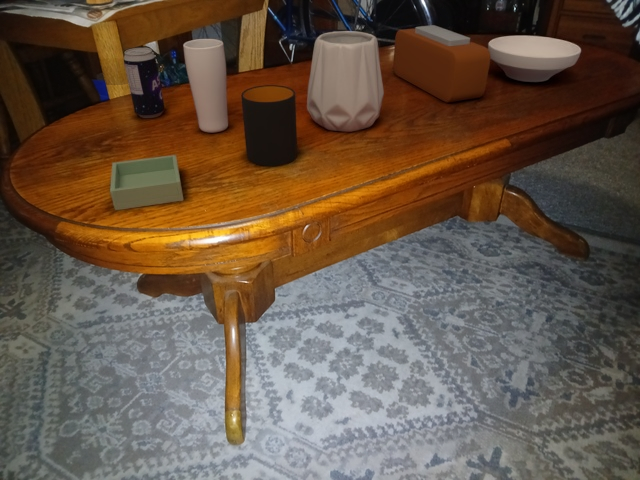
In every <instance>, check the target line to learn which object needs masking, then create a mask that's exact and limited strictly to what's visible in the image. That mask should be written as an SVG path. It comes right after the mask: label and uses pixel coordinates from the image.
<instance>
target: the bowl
mask: <svg viewBox="0 0 640 480" xmlns="http://www.w3.org/2000/svg"><path fill="white" fill-rule="evenodd" d="M487 49H488V50H489V52H490V60H492V61H493V62H494V63H495V64H496V65H497V66H498V67H499V68H500V69H501V70H502V71H503V72H504V74H505V76H506V77H507V78H510V79H512V80H514V81H515V80H516V81H520V82H529V83H540V82H545V81H548V80H550V78H551V77H553V76H554V75H556V74H559V73H560V72H563V71H565V70H566V69H567V68H570V67H572V66H574V65H576V64H577V62H578V60H579V58H580V56H581V53H582V48H581V47H580V46H579V45H577V44H576V43H574V42H570V41H568V40H563V39H559V38H554V37H547V36H540V35H506V36H500V37H495V38H493V39H491V40H490V41H489V42H488V43H487Z"/></svg>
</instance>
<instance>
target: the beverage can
mask: <svg viewBox="0 0 640 480" xmlns="http://www.w3.org/2000/svg"><path fill="white" fill-rule="evenodd" d="M123 63H124V69H125V73H126V78H127V82H128V87H129V92H130V97H131V101H132V106H133V110H134V113H135V114H136V115H138V116H139V117H140V118H143V119H155V118H157V117H160V116H161V115H162V114H163V112H164V111H165V109H166V108H165V101H164V96H163V91H162V86H161V80H160V79H161V78H160V73H159V68H158V63H157V57H156V55H155V54H154V52H153V49H152V48H150V47H134V48H130V49H126V50H125V51H124V56H123Z"/></svg>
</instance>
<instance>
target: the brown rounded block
mask: <svg viewBox="0 0 640 480" xmlns="http://www.w3.org/2000/svg"><path fill="white" fill-rule="evenodd" d="M393 49H394V50H393V63H392V64H393V65H392V67H393V68H392V69H393V72H394V74H395V75H396V76H397V77H399V78H401V79H402V80H404V81H406V82H408V83H410V84H411V85H413V86H415V87H416V88H419V89H420V90H423V91H424V92H425V93H428V94H430V95H431V96H433V97H435V98H437V99H438V100H441V101H442V102H444V103H447V104H449V103H454V102H455V103H456V102H460V101H467V100H473V99H479V98H482V96H483V95H484V94H485V92H486V87H487V81H488V75H489V71H490V65H491V59H490V52H489V50H488V47H486V46H483V45H481V44H477V43H475V42H472V41H471V37H468V36H465V35H463V34H460V33H457V32H454V31H452V30H448V29H446V28H443V27H440V26H437V25H434V24H431V25H421V26H416V27H414V28H407V29H405V28H404V29H399V30H397V32H396V33H395V38H394V48H393Z"/></svg>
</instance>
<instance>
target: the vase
mask: <svg viewBox="0 0 640 480" xmlns="http://www.w3.org/2000/svg"><path fill="white" fill-rule="evenodd" d="M379 51H380V50H379V43H378V39H377V37H376V36H375V35H374V34H371V33H368V32H362V31H355V30H342V31H337V30H336V31H335V30H334V31H329V32H325V33H322V34H320V35H319V36H317V38H316V39H315V41H314V45H313V51H312V59H311V64H310V73H309V77H308V83H307V91H306V92H307V94H306V96H307V97H306V109H307V112H308V114H309V115H310V118H311V119H312V120H313V122H315V124H317V125H319V126H321V127H322V128H324V129H325V130H327V131H333V132H344V133H345V132H346V133H352V132H357V131H360V130H364V129H368V128H370V127H372V125H374V123H375V122H376V120H377V119H379V117H380V113H381V107H382V104H383V100H384V95H385V90H384V85H383V83H384V82H383V76H382V70H381V61H380V52H379Z"/></svg>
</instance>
